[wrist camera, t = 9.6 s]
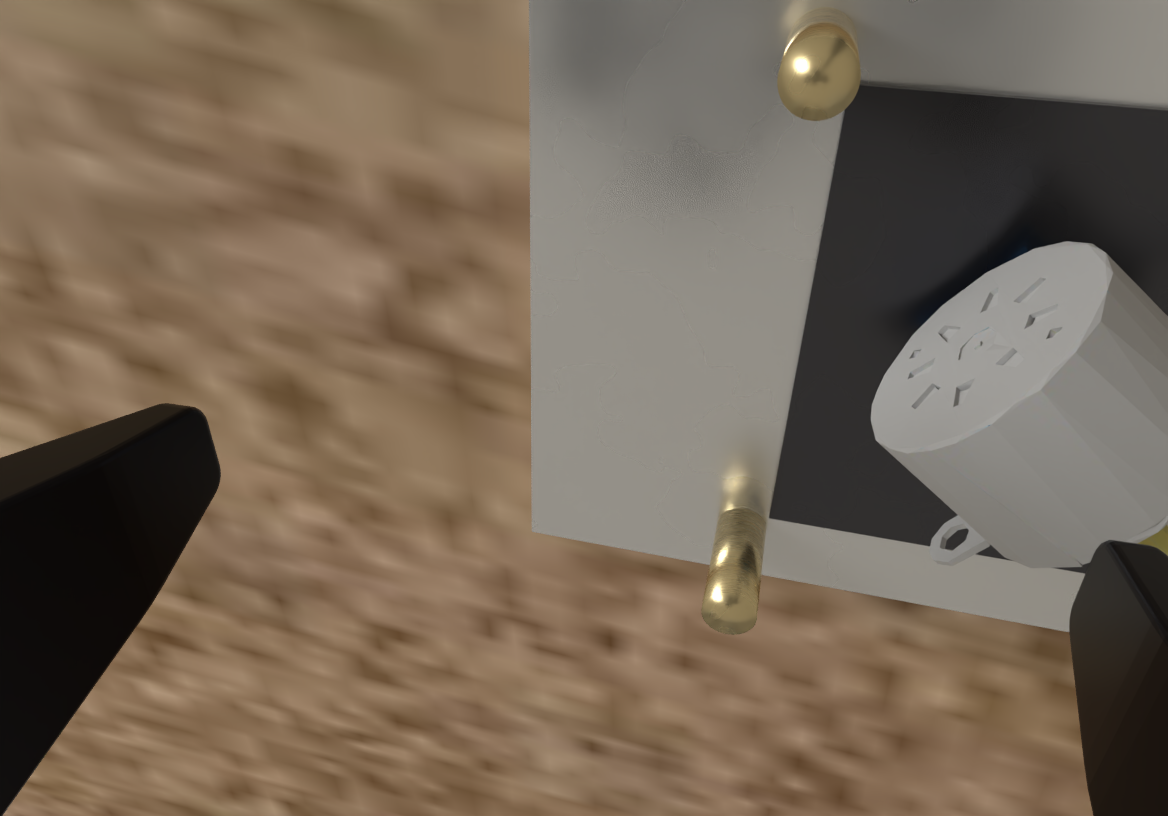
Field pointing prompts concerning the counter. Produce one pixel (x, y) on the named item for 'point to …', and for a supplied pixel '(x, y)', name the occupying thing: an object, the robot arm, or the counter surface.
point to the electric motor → (1037, 410)
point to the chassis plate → (807, 262)
